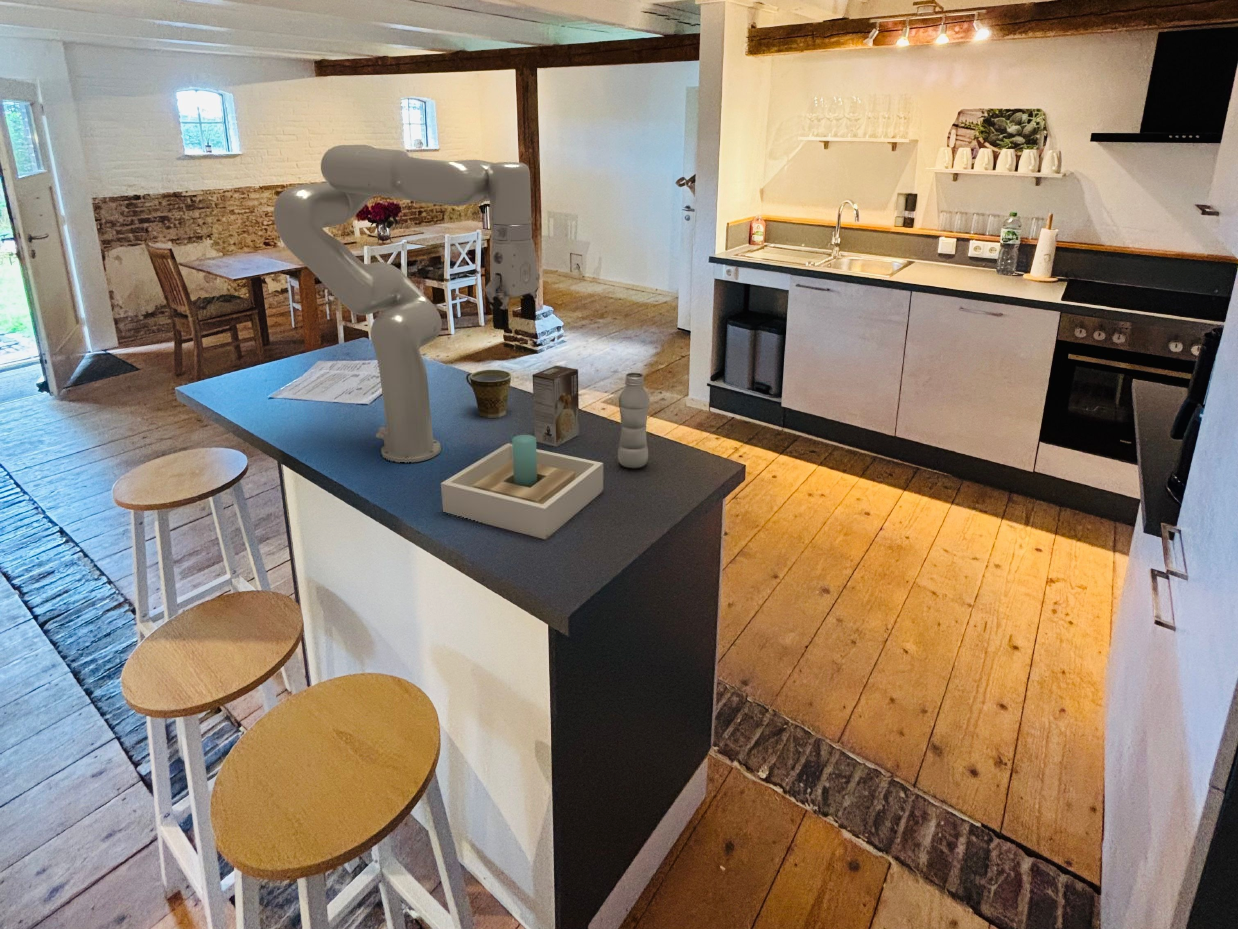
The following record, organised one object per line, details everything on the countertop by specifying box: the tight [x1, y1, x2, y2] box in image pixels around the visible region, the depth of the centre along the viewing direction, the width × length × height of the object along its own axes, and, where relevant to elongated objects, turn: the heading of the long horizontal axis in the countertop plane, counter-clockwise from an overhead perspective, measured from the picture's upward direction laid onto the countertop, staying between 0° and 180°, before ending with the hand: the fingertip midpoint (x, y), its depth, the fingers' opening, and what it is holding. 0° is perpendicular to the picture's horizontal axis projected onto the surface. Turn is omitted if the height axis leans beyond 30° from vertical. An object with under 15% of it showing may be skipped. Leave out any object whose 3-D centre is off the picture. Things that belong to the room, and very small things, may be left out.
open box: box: [440, 443, 604, 540], centre depth 145 cm, size 22×22×6 cm
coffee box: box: [531, 365, 580, 448], centre depth 173 cm, size 9×6×16 cm
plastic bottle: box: [617, 372, 651, 469], centre depth 158 cm, size 6×7×20 cm
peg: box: [511, 434, 537, 488], centre depth 143 cm, size 4×4×12 cm
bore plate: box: [472, 460, 575, 504], centre depth 145 cm, size 14×14×4 cm
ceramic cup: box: [465, 369, 512, 419], centre depth 189 cm, size 13×10×10 cm
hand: (515, 323), depth 149 cm, fingers open, 9 cm apart
